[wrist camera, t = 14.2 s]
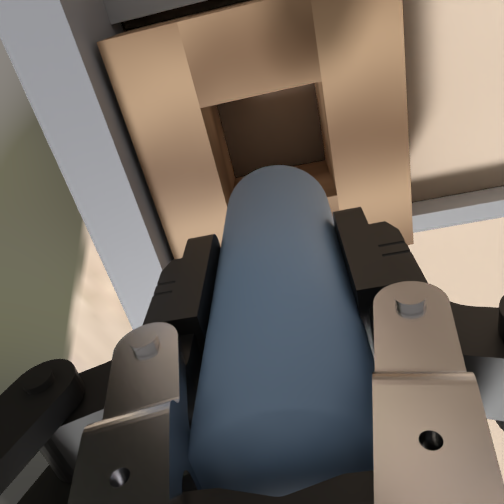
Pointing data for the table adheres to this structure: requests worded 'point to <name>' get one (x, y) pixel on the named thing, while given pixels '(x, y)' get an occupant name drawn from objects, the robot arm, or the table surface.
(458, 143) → the table surface
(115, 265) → the backstop
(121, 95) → the socket block
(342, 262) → the dowel
